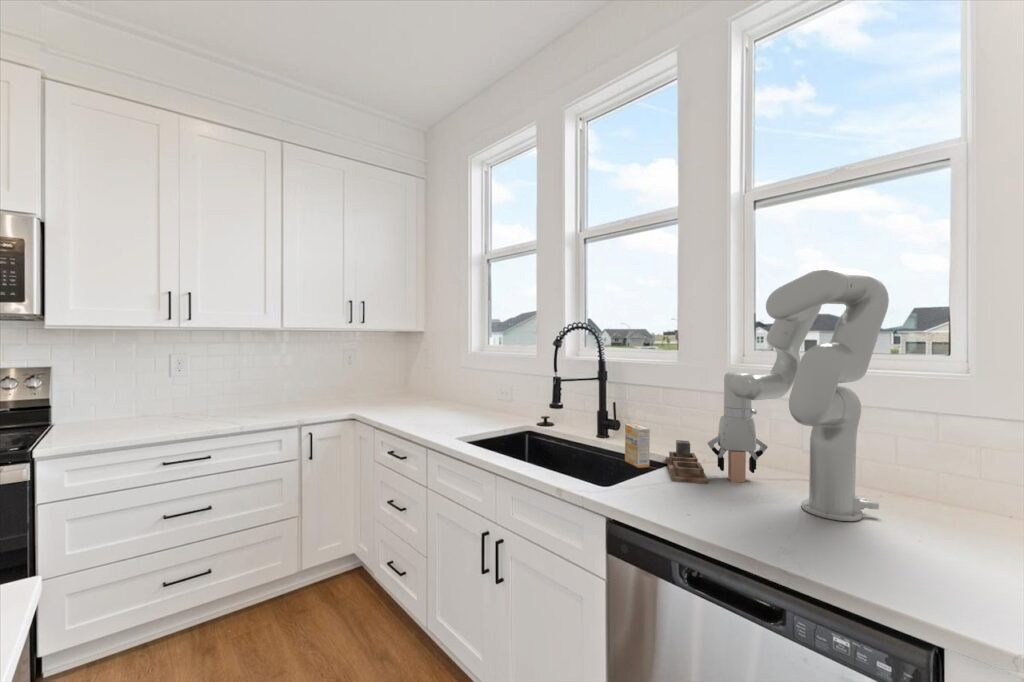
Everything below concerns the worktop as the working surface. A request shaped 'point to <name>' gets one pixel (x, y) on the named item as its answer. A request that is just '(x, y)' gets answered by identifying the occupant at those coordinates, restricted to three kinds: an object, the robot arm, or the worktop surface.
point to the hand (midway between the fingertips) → (736, 470)
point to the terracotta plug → (737, 466)
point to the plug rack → (685, 464)
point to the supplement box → (637, 445)
